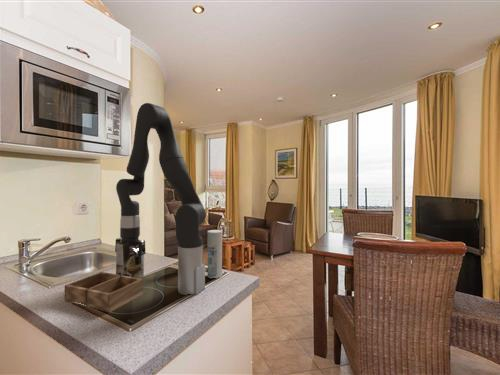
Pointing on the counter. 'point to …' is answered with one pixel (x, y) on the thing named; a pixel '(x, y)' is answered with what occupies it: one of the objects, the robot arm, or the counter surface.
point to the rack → (104, 291)
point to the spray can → (214, 253)
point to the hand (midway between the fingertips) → (130, 263)
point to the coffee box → (128, 261)
